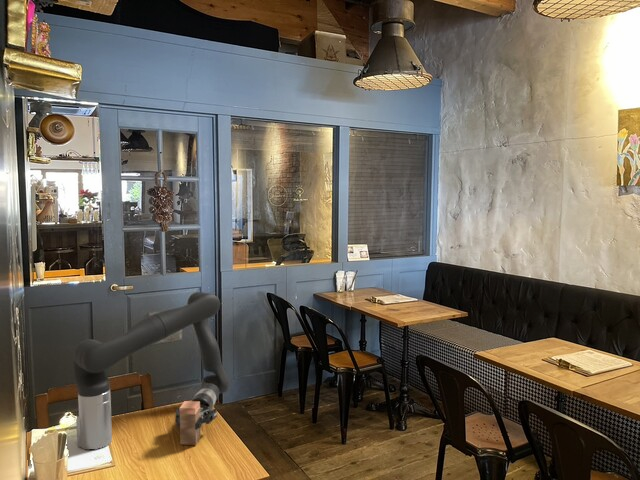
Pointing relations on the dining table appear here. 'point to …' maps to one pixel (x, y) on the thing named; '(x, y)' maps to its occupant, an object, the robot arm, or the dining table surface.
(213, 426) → the dining table surface
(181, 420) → the walnut block
